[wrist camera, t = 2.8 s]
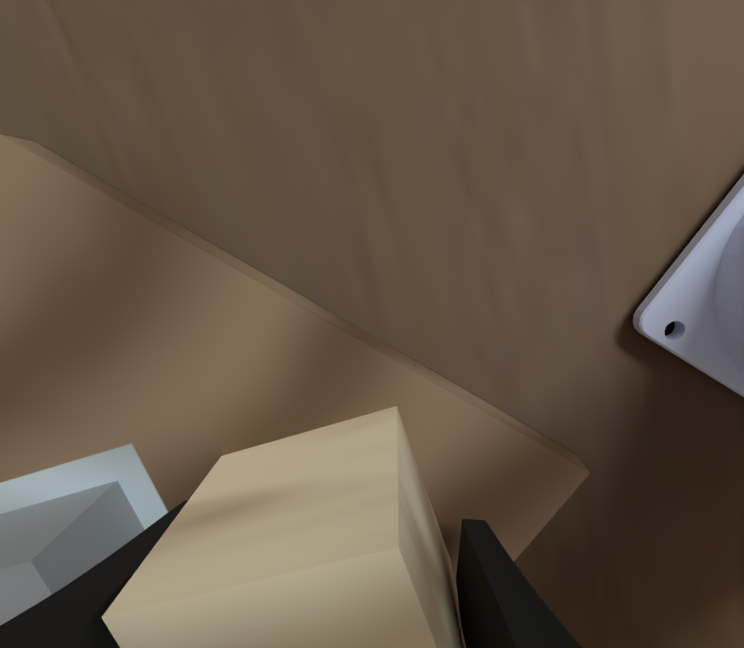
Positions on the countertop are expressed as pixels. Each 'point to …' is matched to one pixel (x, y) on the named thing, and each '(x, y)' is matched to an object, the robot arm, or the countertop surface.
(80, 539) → the grey base block
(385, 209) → the countertop surface
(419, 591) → the maple cube
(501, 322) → the countertop surface
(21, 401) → the board
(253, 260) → the countertop surface
